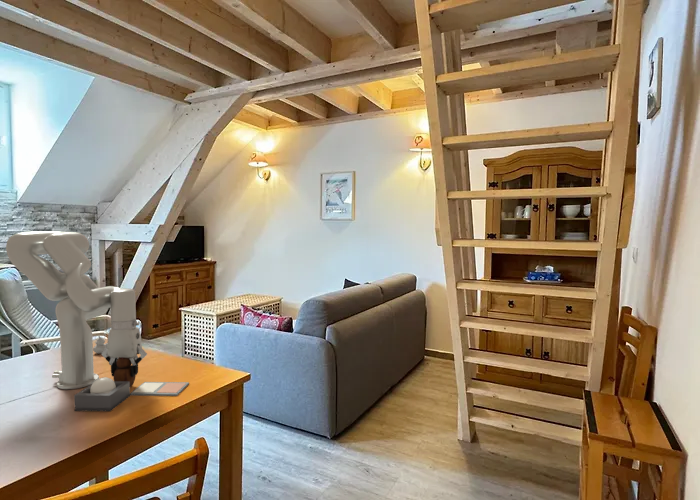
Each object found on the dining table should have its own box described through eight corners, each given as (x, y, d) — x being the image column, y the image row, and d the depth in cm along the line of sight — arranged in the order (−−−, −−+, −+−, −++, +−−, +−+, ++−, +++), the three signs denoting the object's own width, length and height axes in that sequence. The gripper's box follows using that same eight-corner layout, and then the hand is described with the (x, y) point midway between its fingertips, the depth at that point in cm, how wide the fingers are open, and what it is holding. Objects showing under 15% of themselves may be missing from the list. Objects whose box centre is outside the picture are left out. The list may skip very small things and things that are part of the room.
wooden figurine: (125, 392, 138) (124, 349, 137) (110, 390, 140) (109, 347, 139) (139, 384, 145) (138, 343, 144) (125, 382, 146) (124, 342, 145)
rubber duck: (92, 352, 179) (91, 335, 179) (109, 349, 184) (108, 332, 183) (94, 355, 175) (93, 337, 175) (111, 352, 180) (111, 335, 179)
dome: (85, 404, 127) (84, 382, 126) (99, 394, 134) (98, 373, 133) (107, 404, 127) (106, 382, 126) (120, 394, 134) (119, 374, 133)
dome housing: (74, 410, 125) (74, 395, 125) (97, 395, 136) (96, 381, 136) (110, 411, 125) (109, 395, 124) (130, 396, 136) (129, 381, 135)
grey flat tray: (129, 395, 136) (129, 393, 136) (144, 383, 146) (144, 381, 146) (176, 395, 136) (176, 393, 136) (189, 384, 146) (188, 382, 146)
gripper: (153, 322, 144) (154, 371, 146) (105, 321, 145) (106, 370, 146) (142, 328, 137) (143, 380, 138) (91, 326, 137) (93, 378, 138)
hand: (124, 374), depth 142 cm, fingers closed on wooden figurine, 5 cm apart
